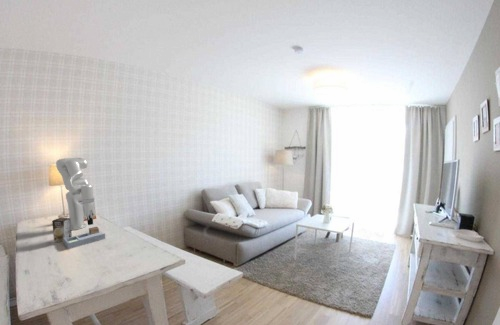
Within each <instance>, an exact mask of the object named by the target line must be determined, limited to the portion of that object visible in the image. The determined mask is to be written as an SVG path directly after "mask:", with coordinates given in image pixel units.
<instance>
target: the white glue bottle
mask: <svg viewBox="0 0 500 325" xmlns="http://www.w3.org/2000/svg"><path fill="white" fill-rule="evenodd" d="M95 199H96V198H94V202H93V207H94V215H92V216H93V220H95V219H97V213H96V212H97V210H96V200H95ZM79 203H80V204H81V205H82V207H83V204H82V201H79ZM83 217H84V221H87V217H86V216H85V215H84V210H83Z"/></svg>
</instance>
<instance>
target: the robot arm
mask: <svg viewBox="0 0 500 325" xmlns="http://www.w3.org/2000/svg"><path fill="white" fill-rule="evenodd" d="M55 165H56V168H57V171H58V173H59V174H60V175H61V178H62V182H63V184H64V187H65V189H66V190H67V193H65V199H66V203H67V207H68V218H70V220H71V231H76V230H80V229H83V228H86V227H87V225H88V226H90V225H94V219H93V216H92V215H94V207H93V202H94V199H95V195H94V188H93V185H92V184H89V182H88V180H87V178H85V177H83V176H84V172H83V170H82V169H87V167H88V161H87V160H86V159H85V158H82V157H65V158H59V159H58V160H56V162H55ZM79 201H82V204H83V207H82V205H81V204H80V203H79ZM83 210H84V215H85V216H86V217H87V220H86V221H87V224H86V223H85V220H84V217H83Z"/></svg>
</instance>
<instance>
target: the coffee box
mask: <svg viewBox="0 0 500 325" xmlns="http://www.w3.org/2000/svg"><path fill="white" fill-rule="evenodd" d="M51 221H52V222H51V225H52V234H53V242H54V243H63V238H64V237H65V238H69V237H73V234H72V230H71V220H70V218H69V217H59V218H56V219H53V220H51Z"/></svg>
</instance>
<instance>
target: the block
mask: <svg viewBox="0 0 500 325" xmlns="http://www.w3.org/2000/svg"><path fill="white" fill-rule="evenodd" d="M99 231H100V230H99V227H98V226H93V227H90V228H88V233H90V234H95V233H99Z"/></svg>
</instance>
